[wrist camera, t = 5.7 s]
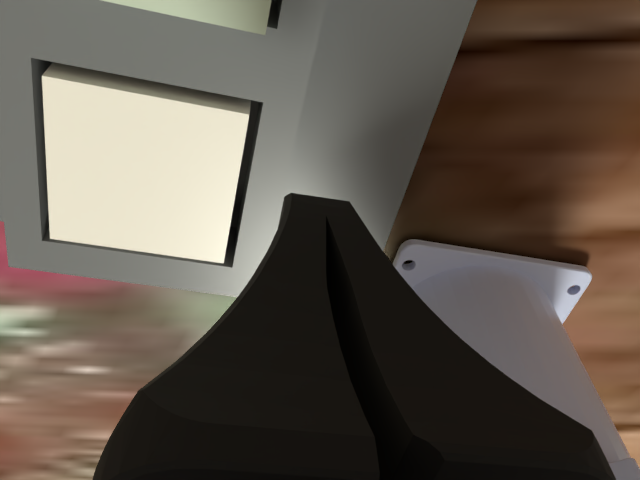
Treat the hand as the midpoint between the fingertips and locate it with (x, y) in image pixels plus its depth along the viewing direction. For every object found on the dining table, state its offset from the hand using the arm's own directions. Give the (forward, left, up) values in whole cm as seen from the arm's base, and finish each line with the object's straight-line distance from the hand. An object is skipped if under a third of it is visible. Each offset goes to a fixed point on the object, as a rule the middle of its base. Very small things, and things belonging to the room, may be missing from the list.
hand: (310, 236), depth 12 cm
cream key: (-2, +4, -6) cm, 8 cm away
